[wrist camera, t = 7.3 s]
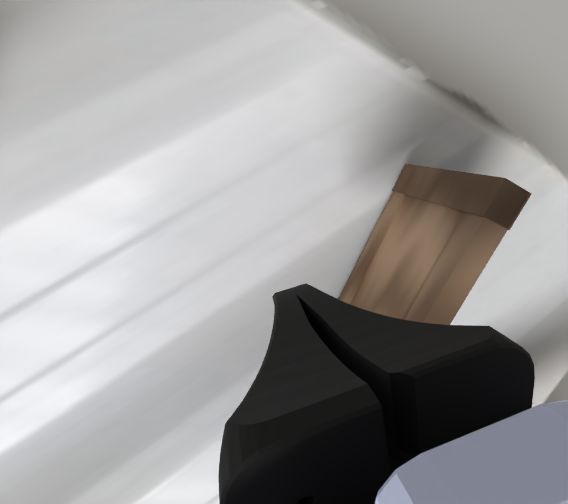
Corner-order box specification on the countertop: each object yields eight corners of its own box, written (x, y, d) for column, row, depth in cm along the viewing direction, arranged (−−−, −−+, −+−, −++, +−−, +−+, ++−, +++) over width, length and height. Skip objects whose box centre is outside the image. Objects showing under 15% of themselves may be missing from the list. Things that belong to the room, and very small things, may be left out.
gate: (321, 375, 22) (365, 465, 16) (300, 371, 22) (339, 462, 15) (425, 175, 19) (531, 193, 13) (405, 164, 18) (505, 178, 12)
